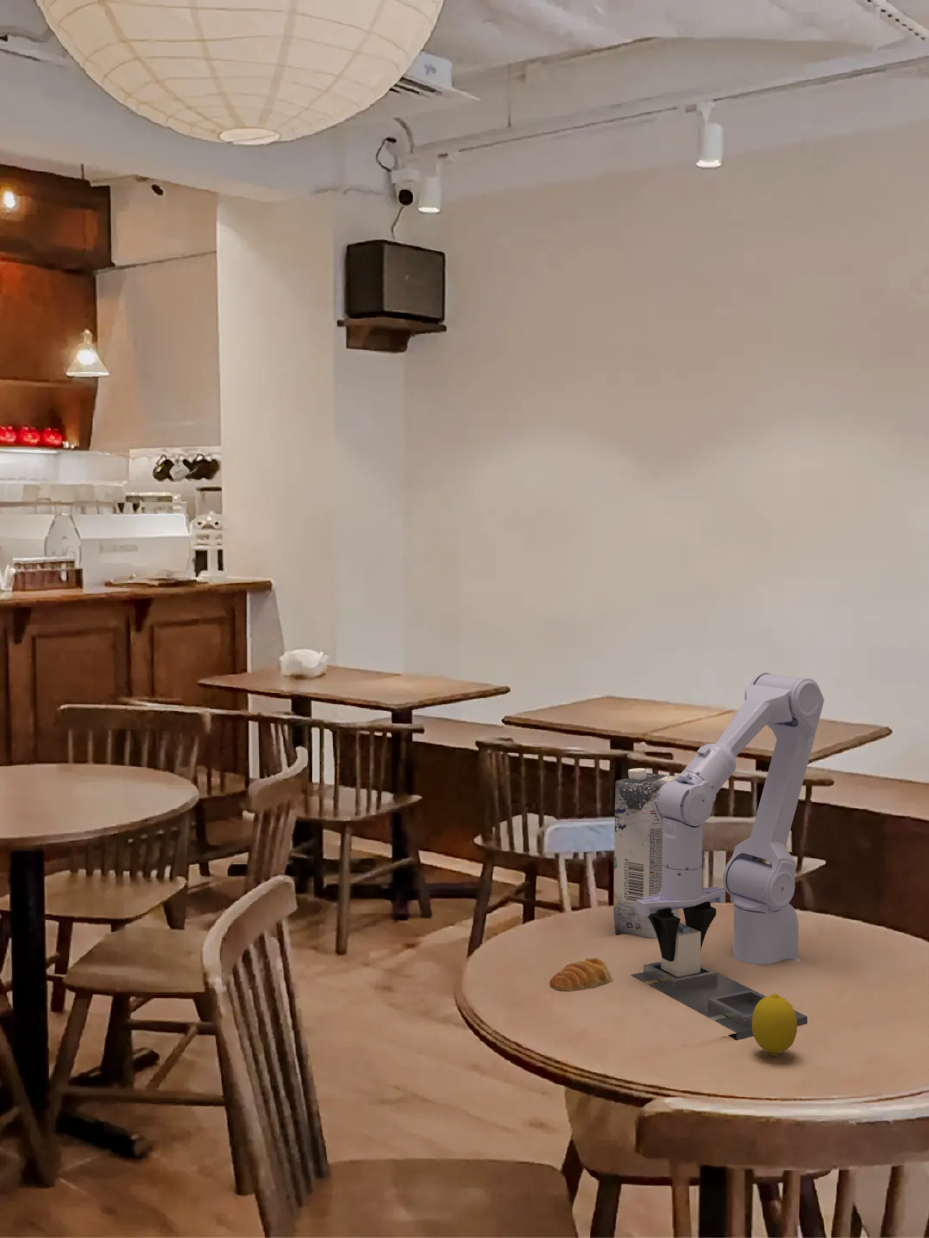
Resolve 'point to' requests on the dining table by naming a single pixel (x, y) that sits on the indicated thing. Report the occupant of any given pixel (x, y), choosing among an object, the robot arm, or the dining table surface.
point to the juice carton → (637, 850)
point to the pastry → (581, 976)
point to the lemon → (774, 1024)
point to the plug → (685, 952)
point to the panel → (710, 996)
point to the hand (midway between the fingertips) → (680, 956)
